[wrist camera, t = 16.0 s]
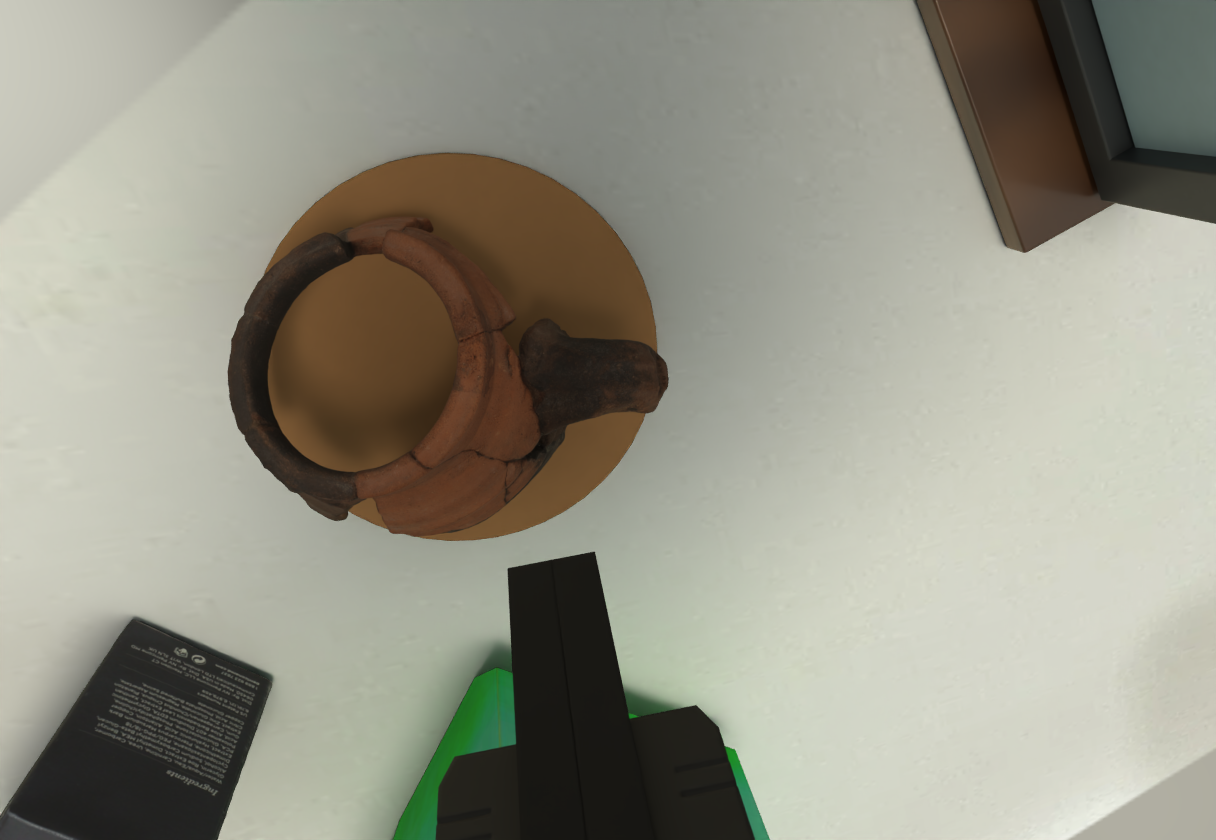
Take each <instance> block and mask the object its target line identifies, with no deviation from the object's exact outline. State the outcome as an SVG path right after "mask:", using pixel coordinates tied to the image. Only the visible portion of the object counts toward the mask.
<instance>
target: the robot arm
mask: <svg viewBox="0 0 1216 840" xmlns="http://www.w3.org/2000/svg"><path fill="white" fill-rule="evenodd" d="M508 587H509V608H510V629H511V650H512V671H513V692H514V712H515V733H516V744H514V745H509V746H504V747H499V748H494V749H489V750H484V751H479V752H475V753H470V754H465V755H460V756H455V757H454V758H453V760H452V762H451V764H450V766H449V768H448V770H447V772H446V773H445V775H444V777H443V779H442V781H441V783H440V785H439V787H438V803H437V825H436V840H755V837H754V834H753V831H752V828H751V825H750V822H749V819H748V816H747V813H746V810H745V807H744V804H743V801H742V797H741V794H740V791H739V788H738V786H737V784H736V779H735V776H734V773H733V770H732V767H731V764H730V762H729V759H728V755H727V752H726V749H725V746H724V743H723V740H722V736H721V733H720V730H719V727H718V726H717V725H716V724H715V723H714V722H713V721H712V720H711V719H710V718H709V717H708V716H707V715H706V714H705V713H704V712H703V711H702V710H701V709H699V708H698V707H697V706H696V705H695V706H690V707H685V708H680V709H675V710H670V711H665V712H660V713H656V714H651V715H646V716H641V717H636V718H631V719H630V718H629V713H628V709H627V704H626V699H625V694H624V689H623V685H622V680H621V675H620V670H619V665H618V661H617V656H616V651H615V646H614V641H613V636H612V632H611V627H610V622H609V617H608V612H607V608H606V603H605V598H604V593H603V588H602V584H601V579H600V574H599V569H598V564H597V560H596V555H595V552H590V553H585V554H580V555H575V556H569V557H564V558H559V559H554V560H549V561H543V562H538V563H533V564H528V565H523V566H518V567H512V568H508Z"/></svg>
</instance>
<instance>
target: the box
mask: <svg viewBox="0 0 1216 840" xmlns="http://www.w3.org/2000/svg"><path fill="white" fill-rule="evenodd" d="M271 688H272V682H271V681H270V680H268V679H266V678H263V677H262V676H260V675H258V674H255V673H253V672H250V671H248V670H246V669H244V668H241V667H238V666H236V665H234V664H232V663H229V662H227V661H225V660H222V659H220V658H218V657H216V656H213V655H211V654H209V653H206V652H204V651H202V650H199V649H197V648H195V647H192V646H190V645H189V644H187V643H184V642H182V641H180V640H179V639H175V638H173V637H171V636H169V635H167V634H165V633H163V632H161V631H159V630H157V629H154V628H152V627H150V626H147V625H145V624H143V623H141V622H139V621H136V620H132V621H131V622H130V623H129V624H128V625H127V626H126V628H125V629H124V630H123V632H122V633H121V634H120V636H119V637H118V639H117V640H116V642H115V643H114V645H113V646H112V648H111V649H110V651H109V652H108V654H107V655H106V657H105V658H104V660H103V662H102V663H101V664H100V666H99V667H98V669H97V670H96V672H95V673H94V675H93V676H92V678H91V679H90V681H89V682H88V684H87V685H86V687H85V688H84V690H83V691H82V693H81V694H80V696H79V697H78V699H77V701H76V702H75V704H74V705H73V707H72V708H71V710H70V711H69V713H68V715H67V716H66V718H65V719H64V720H63V722H62V723H61V725H60V727H59V728H58V729H57V731H56V733H55V734H54V736H53V737H52V738H51V740H50V741H49V743H48V744H47V746H46V747H45V749H44V750H43V752H42V753H41V755H40V756H39V758H38V760H37V761H36V762H35V764H34V766H33V767H32V768H31V770H30V771H29V773H28V774H27V776H26V778H25V779H24V781H23V782H22V784H21V785H20V786H19V788H18V790H17V791H16V793H15V794H14V796H13V797H12V798H11V800H10V801H9V803H8V804H7V806H6V808H5V809H4V811H3V812H2V814H1V815H0V840H217V839H218V836H219V833H220V830H221V827H222V825H223V822H224V819H225V817H226V814H227V810H228V807H229V805H230V802H231V800H232V796H233V793H234V790H235V787H236V785H237V783H238V780H239V777H240V774H241V771H242V768H243V766H244V763H245V760H246V757H247V754H248V751H249V749H250V746H251V744H252V740H253V738H254V735H255V732H256V730H257V727H258V724H259V721H260V719H261V715H262V713H263V710H264V707H265V704H266V701H267V698H268V695H269V692H270V690H271Z"/></svg>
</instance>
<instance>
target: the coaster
mask: <svg viewBox="0 0 1216 840" xmlns="http://www.w3.org/2000/svg"><path fill="white" fill-rule="evenodd" d="M389 217H422V218H427V219H429V220H430V221H431V223H432V225H433V229H434V230H433V232H431V233H432V234H434V235H436V236H438V237H440V238H442V239H444V240H445V241H447V242H449V243H450V244H451V245H452V246H454V247H455V248H456V249H457V250H458V251H459V252H461V253H462V254H463V255H465V256H466V257H467V258H468V259H469V260H470V261H472V262H473V263H474V264H475V265H477V266H478V267H479V268H480V269H481V270H482V271H483V272H484V273H485V274H486V276H487V277H488V278H489V280H490V281H491V283H492V284H493V285H494V286H495V287H496V288H497V289H498V290H499V292H500V293H501V294H502V295H503V297H504V298H505V300H506V301H507V302H508V303H509V304H510V306H511V308H512V309H513V311H514V313H515V315H516V320H515V321H513V323H512V324H510V325H509V326H507V327H506V328H505V329H503V331H502V334H503V336H504V338H505V340H506V341H507V343H508V345H510V346H511V347H512V348H513V349H514V352H515V354H516V355H517V356H518V355H519V343H520V341H521V339H522V336H523V334H524V332H525V331H526V330H527V329H528V328H529V327H530V326H532V325H533V324H534V323H535V322H537V321H538V320H540V319H543V318H548V319H551V320H552V321H553V322H554V323H556V324H558V325H559V326H560V329H561V330H565V331H566V333H567V334H568V335H569V336H570V337H573V338H597V339H622V340H633V341H639V342H642V343H645V344H647V345H649V346H650V347H651V348H652V349H653V350H654V351H655V352H656V353H657V340H656V326H655V321H654V316H653V311H652V306H651V301H650V298H649V295H648V292H647V290H646V287H645V284H644V281H643V278H642V276H641V274H640V272H639V270H638V268H637V266H636V264H635V262H634V260H633V258H632V256H631V254H630V253H629V251H628V250H627V248H626V247H625V245H624V244H623V242H622V241H621V240H620V238H619V237H618V235H617V234H616V232H615V231H614V230H613V229H612V228H611V227H610V226H609V225H608V223H607V222H606V221H605V220H604V219H603V218H602V217H601V216H600V215H599V214H598V212H597V211H596V210H594V209H593V208H592V207H591V206H590V205H588V204H587V203H586V202H585V201H584V200H583V199H581V198H580V197H579V196H578V195H577V194H575V193H574V192H572V191H571V190H569V189H567V188H566V187H564V186H563V185H561V184H560V183H558V182H557V181H555V180H553V179H552V178H549V177H547V176H545V175H543V174H541V173H539V172H537V171H534V170H532V169H530V168H528V167H525V166H522V165H519V164H516V163H512V162H509V161H506V160H503V159H499V158H493V157H487V156H481V155H476V154H460V153H439V154H428V155H418V156H413V157H408V158H404V159H400V160H396V161H391V162H388V163H385V164H383V165H380V166H377V167H375V168H372V169H370V170H367V171H364V172H362V173H360V174H358V175H357V176H355V177H353V178H351V179H349V180H348V181H346V182H344V183H342V184H340V185H339V186H337V187H336V188H335V189H333V190H332V191H331V192H329V193H328V194H327V195H325V196H324V197H323V198H321V199H320V200H319V201H317V202H316V203H315V204H314V205H313V206H312V207H311V208H310V209H309V210H308V211H307V212H306V213H305V214H304V215H303V216H302V217H301V218H300V219H299V220H298V221H297V222H296V223H295V224H294V226H293V227H292V228H291V230H290V231H289V232H288V234H287V235H286V236H285V238H284V239H283V240H282V242H281V243H280V244H279V246H278V248H277V250H276V252H275V253H274V255H273V257H272V259H271V261H270V263H269V265H268V267H267V268H266V271H265V274H266V273H267V272H268V271H269V270H270V268H271V267H272V266H273V265H274V264H275V263H277V262H278V261H279V260H281V259H282V258H284V257H285V256H286V255H287V254H289V253H290V252H291V250H292V249H294V248H295V247H297V246H298V245H300V244H302V243H303V242H305V241H307V240H309V239H311V238H312V237H314V236H316V235H318V234H321V233H324V232H326V233H332V234H334V235H335V234H337V233H338V232H340V231H342V230H344V229H346V228H350V227H352V228H356V227H357V226H359V225H361V224H362V223H365V222H369V221H372V220H377V219H382V218H389ZM265 274H264V275H265ZM457 348H458V342H457V340H456V337H455V333H454V330H453V327H452V323H451V321H450V318H449V315H448V313H447V310H446V308H445V306H444V304H443V302H442V301H441V299H440V298H439V296H438V295H437V293H436V292H435V291H434V289H433V288H432V287H431V286H430V284H429V283H428V282H427V281H426V280H424V279H423V278H422V277H421V276H419V275H418V274H416V273H415V272H414V271H412V270H410V269H409V268H406V267H404V266H402V265H399V264H397V263H395V262H392V261H390V260H388V259H387V258H386V257H385V256H384V254H372V255H361V256H356V257H354V258H353V259H352V260H351V261H349V262H347V263H345V264H342V265H340V266H338V267H336V268H334V269H332V270H330V271H328V272H327V273H325V274H324V275H322V276H320V277H319V278H317V279H316V280H315V281H313V282H312V283H310V284H309V285H308V286H307V288H306V289H304V290H303V291H302V292H301V294H300V295H299V296H298V297H297V298H296V299H295V301H294V302H293V303H292V305H291V307H290V308H289V310H288V311H287V313H286V315H285V317H284V319H283V320H282V322H281V324H280V327H279V329H278V331H277V333H276V337H275V340H274V343H273V346H272V349H271V354H270V359H269V368H268V388H269V395H270V401H271V404H272V409H273V413H274V415H275V418H276V420H277V422H278V424H279V426H280V429H281V430H282V432H283V434H284V435H285V436H286V437H287V439H288V440H289V441H290V443H291V444H292V445H293V446H294V447H295V448H296V449H297V450H298V451H299V452H301V453H302V454H303V455H304V456H305V457H307V458H308V459H310V460H312V461H314V462H315V463H317V464H319V465H321V466H323V467H326V468H329V469H333V470H337V471H345V472H357V471H361V470H366V469H371V468H376V467H380V466H383V465H385V464H388V463H390V462H392V461H394V460H396V459H398V458H399V457H401V456H402V455H404V454H406V453H407V452H409V451H411V450H412V449H413V448H414V447H415V446H416V445H417V444H418V443H419V442H420V441H422V440H423V439H424V438H425V436H426V435H427V434H428V433H429V432H430V431H431V429H432V428H433V426H434V425H435V423H436V422H437V420H438V419H439V417H440V415H441V414H442V412H443V410H444V408H445V405H446V403H447V401H448V398H449V396H450V393H451V390H452V387H453V382H454V377H455V373H456V367H457ZM645 414H646V413H645ZM645 414H644V413H637V412H615V413H609V414H605V415H602V416H599V417H596V418H592V419H587V420H583V421H580V422H576V423H573V424H569V425H568V426H567V427H566V430H565V439H564V441H563V442H562V444H561V445H560V446H559V447H558V448H557V449H556V451H555V452H554V453H553V455H552V457H551V458H550V459H549V461H548V462H547V463H546V464H545V466H544V467H543V468H542V470H541V471H540V472H539V473H538V474H537V475H536V476H535V477H534V478H533V479H532V480H531V481H530V483H529V484H528V485H527V486H526V487H525V488H524V489H523V490H522V491H521V492H520V493H519V494H518V495H517V496H516V497H515V498H514V499H512V500H511V501H510V502H509V503H508V504H507V505H506V506H504V507H503V508H502V509H501V510H499V511H498V512H497V513H495V514H494V515H493V516H491V517H490V518H488V519H487V520H485V521H483V522H481V523H479V524H477V525H474V526H472V527H470V528H467V529H464V530H461V531H458V532H453V533H442V534H436V535H430V536H421V537H420V538H426V539H436V540H446V541H459V540H479V539H486V538H494V537H499V536H503V535H507V534H511V533H515V532H519V531H522V530H525V529H527V528H530V527H533V526H535V525H538V524H540V523H543V522H545V521H547V520H549V519H551V518H553V517H555V516H556V515H558V514H560V513H562V512H564V511H566V510H567V509H569V508H570V507H571V506H573V505H574V504H576V503H577V502H579V501H580V500H582V499H583V498H584V497H586V496H587V495H588V494H589V493H590V492H591V491H592V490H593V489H595V488H596V487H597V486H598V485H599V484H600V483H601V482H602V481H603V480H604V479H605V478H606V477H607V476H608V475H609V474H610V472H611V471H612V470H613V469H614V468H615V467H616V466H617V464H618V463H619V462H620V460H621V459H622V457H623V456H624V454H625V453H626V451H627V450H628V448H629V447H630V445H631V444H632V442H633V440H634V438H635V436H636V434H637V432H638V430H639V428H640V426H641V424H642V422H643V420H644V417H645ZM349 512H351V513H352V514H354V515H356V516H358V517H360V518H362V519H365V520H367V521H369V522H371V523H373V524H375V525H378V526H381V527H383V528H386V529H388V528H387V526H386V525H385V523H384V522H383V520H382V516H381V515H380V514H379V513H378V510H377V507H376V502H375V501H374V499H373V498H367V499H366V500H364V501H361V502H360V503H358V504H356V505H354V506H353V507H352V508H351V509H350V510H349Z"/></svg>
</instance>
